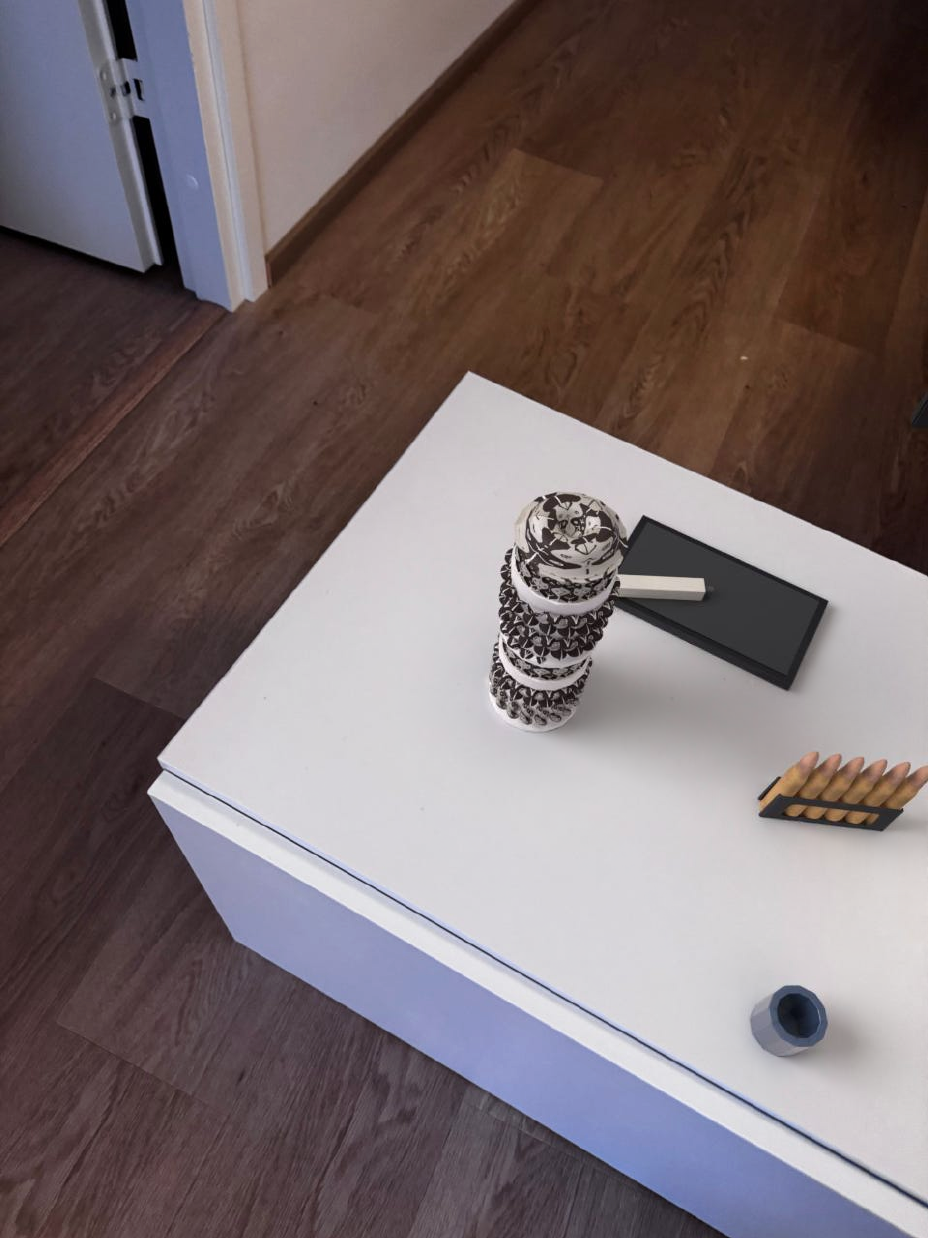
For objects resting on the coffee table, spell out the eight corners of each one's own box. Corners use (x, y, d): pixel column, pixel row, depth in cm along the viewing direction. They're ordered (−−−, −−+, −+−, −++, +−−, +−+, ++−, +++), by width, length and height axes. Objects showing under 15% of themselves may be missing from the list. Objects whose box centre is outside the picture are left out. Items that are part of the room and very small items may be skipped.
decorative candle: (474, 724, 87) (496, 562, 66) (495, 638, 92) (521, 461, 71) (575, 747, 86) (629, 590, 65) (590, 659, 91) (646, 486, 70)
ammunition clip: (757, 818, 83) (805, 762, 73) (755, 798, 84) (803, 740, 74) (881, 833, 83) (947, 779, 73) (878, 813, 84) (943, 756, 74)
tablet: (825, 606, 96) (829, 600, 95) (787, 691, 90) (791, 685, 89) (640, 520, 100) (643, 513, 99) (594, 596, 95) (596, 589, 94)
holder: (797, 998, 76) (820, 984, 71) (808, 1057, 73) (833, 1046, 69) (744, 999, 75) (764, 985, 71) (754, 1057, 73) (775, 1047, 69)
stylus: (714, 578, 93) (574, 571, 93) (716, 592, 92) (575, 585, 92) (709, 587, 95) (572, 581, 94) (711, 601, 94) (572, 595, 93)
